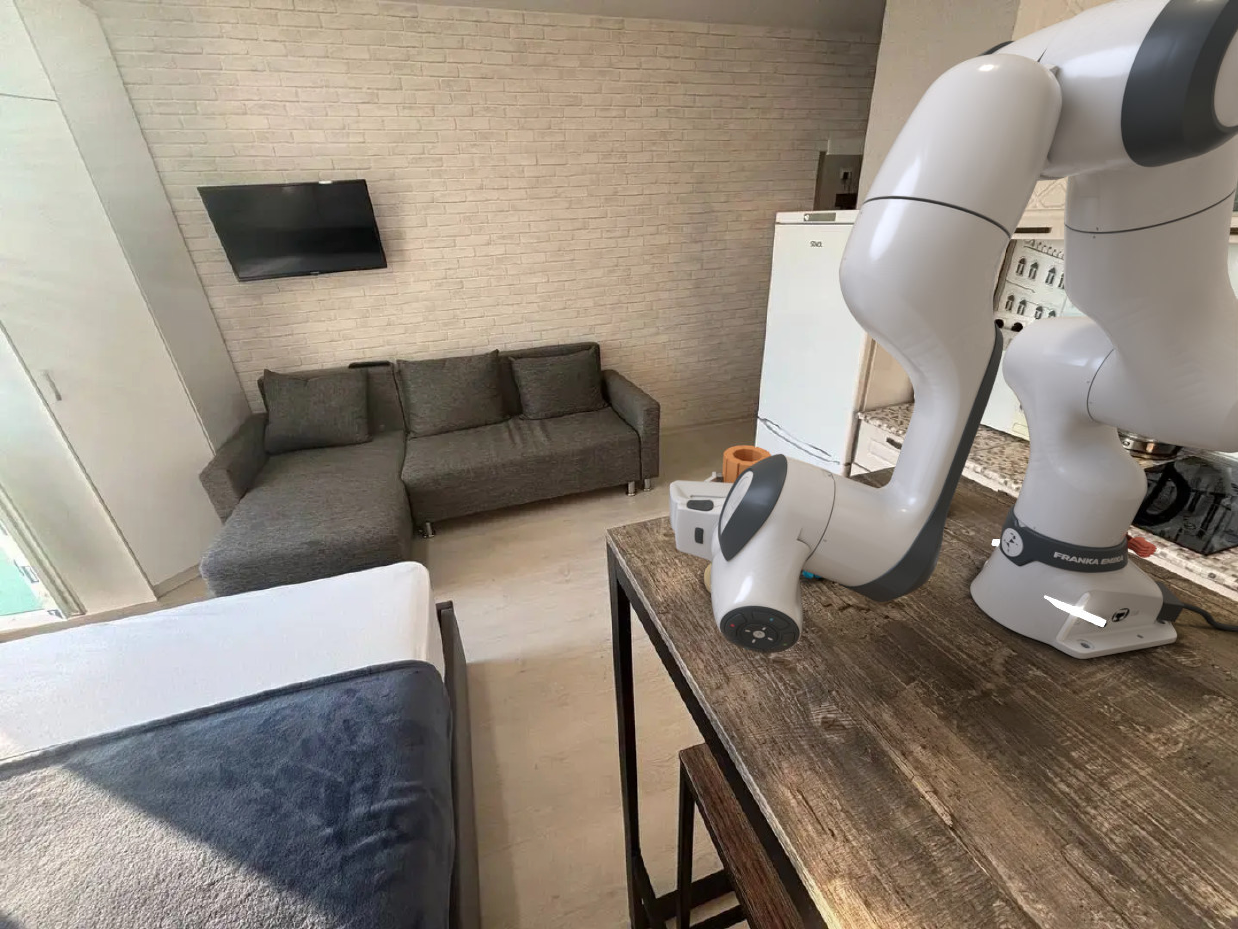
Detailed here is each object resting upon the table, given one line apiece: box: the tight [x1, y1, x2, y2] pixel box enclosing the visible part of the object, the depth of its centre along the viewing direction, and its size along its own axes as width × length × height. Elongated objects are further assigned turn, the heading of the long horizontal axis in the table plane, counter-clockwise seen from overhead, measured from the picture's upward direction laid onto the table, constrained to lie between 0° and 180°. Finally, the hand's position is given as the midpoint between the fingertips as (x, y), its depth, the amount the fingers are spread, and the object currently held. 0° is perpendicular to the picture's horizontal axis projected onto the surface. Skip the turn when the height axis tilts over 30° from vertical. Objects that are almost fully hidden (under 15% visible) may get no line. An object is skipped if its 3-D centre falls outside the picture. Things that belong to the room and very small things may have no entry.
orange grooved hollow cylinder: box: [721, 444, 772, 483], centre depth 71 cm, size 6×6×9 cm
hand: (744, 477), depth 71 cm, fingers closed on orange grooved hollow cylinder, 6 cm apart
